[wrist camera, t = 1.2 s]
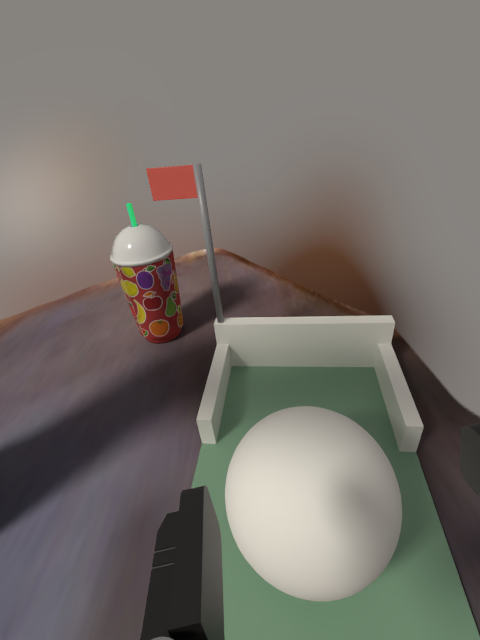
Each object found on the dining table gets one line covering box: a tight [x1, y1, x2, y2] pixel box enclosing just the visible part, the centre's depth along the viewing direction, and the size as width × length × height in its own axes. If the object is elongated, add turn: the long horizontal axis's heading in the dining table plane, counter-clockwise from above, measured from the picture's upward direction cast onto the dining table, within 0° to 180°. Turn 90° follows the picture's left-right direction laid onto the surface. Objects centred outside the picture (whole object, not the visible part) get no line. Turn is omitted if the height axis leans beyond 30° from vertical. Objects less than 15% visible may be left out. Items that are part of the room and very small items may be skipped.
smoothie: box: [110, 203, 183, 343], centre depth 48 cm, size 8×8×20 cm
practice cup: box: [146, 164, 480, 640], centre depth 27 cm, size 25×30×25 cm
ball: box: [225, 406, 402, 602], centre depth 24 cm, size 12×12×12 cm
